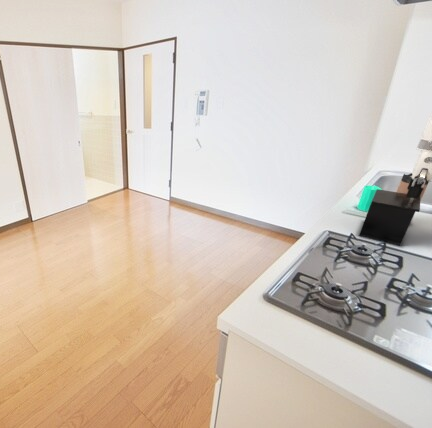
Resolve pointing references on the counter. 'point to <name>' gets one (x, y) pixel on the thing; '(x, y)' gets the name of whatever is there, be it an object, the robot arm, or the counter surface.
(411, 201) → the black hinged box lid
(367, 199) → the candle
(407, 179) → the travel mug
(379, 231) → the black flip-top box
